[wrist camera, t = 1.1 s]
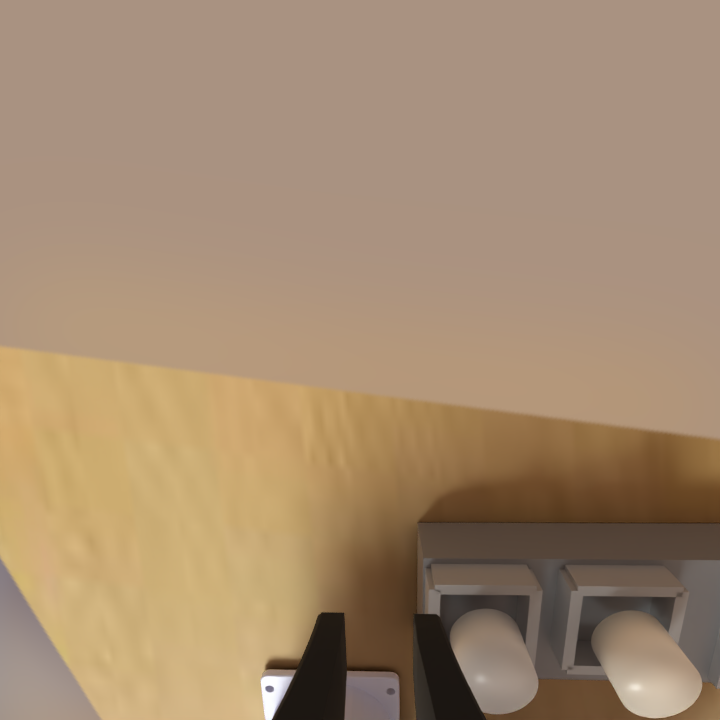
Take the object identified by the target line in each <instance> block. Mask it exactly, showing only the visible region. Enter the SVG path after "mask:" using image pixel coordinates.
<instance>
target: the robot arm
mask: <svg viewBox="0 0 720 720" xmlns="http://www.w3.org/2000/svg"><path fill="white" fill-rule="evenodd" d="M413 678H414V692H415V706H416V720H486V718H485V716H484V714H483V712H482V711H481V709H480V707H479V705H478V703H477V701H476V699H475V697H474V695H473V693H472V691H471V689H470V687H469V685H468V683H467V681H466V679H465V676H464V674H463V672H462V670H461V668H460V666H459V663H458V661H457V659H456V657H455V654H454V652H453V650H452V647H451V645H450V642H449V640H448V637H447V635H446V632H445V629H444V627H443V624H442V620H441V618H440V617H439V616H438V615H437V614H414V631H413ZM261 689H262V697H263V706H264V714H265V720H400V700H399V676H398V675H397V674H396V673H394V672H377V671H347V662H346V640H345V619H344V613H324V612H322V613H321V614H320V615H318V617H317V620H316V624H315V626H314V629H313V632H312V635H311V637H310V640H309V642H308V645H307V647H306V650H305V652H304V654H303V657H302V659H301V661H300V663H299V666H298V668H297V670H278V669H269V670H266V671H264V672H263V673H262V677H261Z"/></svg>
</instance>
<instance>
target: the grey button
mask: <svg viewBox="0 0 720 720" xmlns="http://www.w3.org/2000/svg"><path fill="white" fill-rule="evenodd" d="M450 643H451V647H452V650H453V652H454V654H455V657H456V659H457V661H458V663H459V666H460V668H461V670H462V672H463V674H464V676H465V679H466V681H467V683H468V685H469V687H470V689H471V691H472V693H473V695H474V697H475V699H476V701H477V703H478V705H479V707H480V709H481V711H482V712H484V713H489V714H507V713H511V712H514V711H517V710H519V709H521V708H523V707H525V706H526V705H527V704H529V703H530V702H531V701H532V699H533V698H534V697H535V695H536V693H537V690H538V677H537V674H536V671H535V669H534V666H533V664H532V661H531V658H530V656H529V653H528V651H527V648H526V646H525V643H524V640H523V638H522V635H521V633H520V630H519V627H518V625H517V623H516V622H515V621H514V620H513V619H512V618H511V617H510V616H509V615H507V614H506V613H504V612H501V611H499V610H495V609H477V610H473V611H470V612H468V613H466V614H464V615H462V616H461V617H460V618H459V619H457V621H456V622H455V623H454V624H453V626H452V628H451V631H450Z"/></svg>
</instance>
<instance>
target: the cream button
mask: <svg viewBox="0 0 720 720" xmlns="http://www.w3.org/2000/svg"><path fill="white" fill-rule="evenodd" d="M591 646H592V649H593V651H594V653H595V655H596V657H597V659H598V660H599V662H600V664H601V666H602V668H603V669H604V671H605V673H606V675H607V677H608V678H609V680H610V682H611V684H612V686H613V687H614V689H615V691H616V693H617V695H618V696H619V698H620V700H621V702H622V703H623V705H624V706H625V707H626V708H627V709H628V710H629V711H631V712H632V713H634V714H636V715H639V716H642V717H647V718H665V717H669V716H673V715H676V714H678V713H680V712H682V711H684V710H686V709H687V708H689V707H690V706H691V705H692V704H693V703H694V702H695V701H696V700H697V698H698V697H699V695H700V693H701V690H702V679H701V676H700V674H699V672H698V670H697V669H696V668H695V667H694V665H693V664H692V663H691V662H690V660H689V659H688V658H687V656H686V655H685V654H684V653H683V651H682V650H681V649H680V647H679V646H678V645H677V644H676V642H675V641H674V640H673V638H672V637H671V636H670V635H669V633H668V632H667V631H666V630H665V628H664V627H663V626H662V624H661V623H660V622H659V621H658V620H657V619H656V618H655V617H654V616H652V615H650V614H648V613H645V612H642V611H634V610H630V611H622V612H618V613H615V614H612V615H610V616H608V617H607V618H605V619H604V620H602V621H601V622H600V623H599V624H598V625H597V627H596V628H595V630H594V631H593V634H592V637H591Z"/></svg>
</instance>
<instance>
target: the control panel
mask: <svg viewBox="0 0 720 720" xmlns="http://www.w3.org/2000/svg"><path fill="white" fill-rule="evenodd" d="M477 609H495V610H499V611H501V612H504V613H506V614H507V615H509V616H510V617H511V618H512V619H513V620H514V621H515V622H516V623H517V625H518V627H519V630H520V633H521V635H522V638H523V640H524V643H525V646H526V648H527V651H528V653H529V656H530V658H531V661H532V664H533V666H534V669H535V671H536V674H537V677H538V679H567V680H609V678H608V677H607V675H606V673H605V671H604V669H603V668H602V666H601V664H600V662H599V660H598V659H597V657H596V655H595V653H594V651H593V649H592V646H591V637H592V634H593V631H594V630H595V628H596V627H597V625H598V624H599V623H600V622H601V621H602V620H604V619H605V618H607V617H608V616H610V615H612V614H615V613H618V612H622V611H630V610H634V611H642V612H645V613H648V614H650V615H652V616H654V617H655V618H656V619H657V620H658V621H659V622H660V623H661V624H662V626H663V627H664V628H665V630H666V631H667V632H668V633H669V635H670V636H671V637H672V638H673V640H674V641H675V642H676V644H677V645H678V646H679V647H680V649H681V650H682V651H683V653H684V654H685V655H686V656H687V658H688V659H689V660H690V662H691V663H692V664H693V665H694V667H695V668H696V669H697V670H698V672H699V674H700V676H701V679H702V682H712V684H713V685H714V686H715V687H716V689H720V523H418V548H417V614H437V615H438V616H439V617H440V618H441V620H442V624H443V627H444V629H445V632H446V635H447V637H448V640H449V642H450V631H451V628H452V626H453V624H454V623H455V622H456V621H457V619H459V618H460V617H461V616H462V615H464V614H466V613H468V612H470V611H473V610H477ZM450 645H451V643H450Z"/></svg>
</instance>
